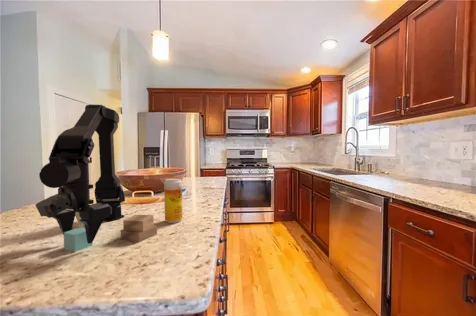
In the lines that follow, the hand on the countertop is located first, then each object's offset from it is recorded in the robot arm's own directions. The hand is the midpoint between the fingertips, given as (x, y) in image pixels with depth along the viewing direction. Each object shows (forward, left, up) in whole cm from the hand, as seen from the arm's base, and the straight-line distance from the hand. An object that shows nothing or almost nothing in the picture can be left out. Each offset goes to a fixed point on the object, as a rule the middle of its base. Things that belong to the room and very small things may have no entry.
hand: (78, 240), depth 63 cm
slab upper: (+9, +12, +1) cm, 15 cm away
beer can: (+9, +28, -2) cm, 29 cm away
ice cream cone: (-14, +10, -2) cm, 17 cm away
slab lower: (+9, +12, -2) cm, 15 cm away
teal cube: (0, 0, -2) cm, 2 cm away
